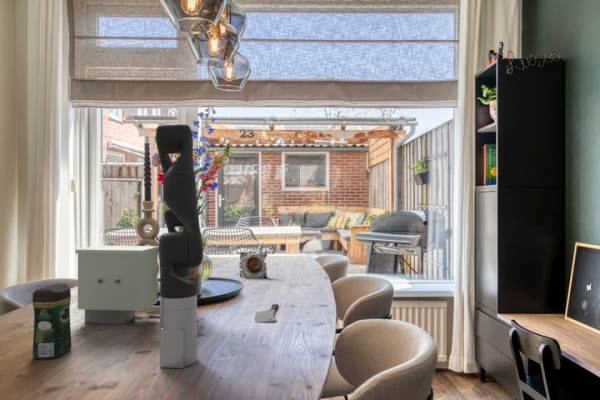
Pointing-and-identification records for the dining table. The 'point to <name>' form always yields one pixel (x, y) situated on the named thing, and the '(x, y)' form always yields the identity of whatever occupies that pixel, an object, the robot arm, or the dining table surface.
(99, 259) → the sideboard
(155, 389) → the dining table surface
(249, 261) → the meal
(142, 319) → the steel puck
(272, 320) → the kitchen cleaver
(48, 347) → the coffee jar
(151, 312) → the wooden mallet
